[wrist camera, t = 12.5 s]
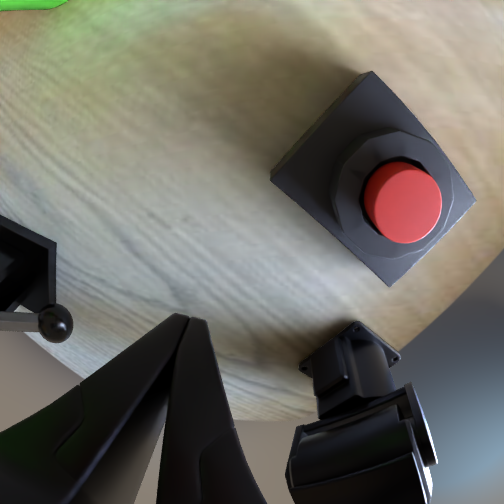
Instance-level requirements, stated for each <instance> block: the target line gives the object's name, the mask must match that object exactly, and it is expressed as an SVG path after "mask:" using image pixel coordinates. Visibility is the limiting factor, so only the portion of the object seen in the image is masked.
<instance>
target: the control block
mask: <svg viewBox="0 0 504 504" xmlns="http://www.w3.org/2000/svg"><path fill="white" fill-rule="evenodd" d="M391 162H405V163H409V164H411V165H413V166H415V167H417V168H419V169H420V170H422V171H424V172H426V173H427V174H429V175H430V176H431V177H432V178H433V179H434V180H435V182H436V183H437V185H438V187H439V189H440V192H441V197H442V208H441V213H440V217H439V219H438V221H437V223H436V225H435V226H434V228H433V229H432V230H431V231H430V232H429V233H428V234H427V235H426V236H425V237H423V238H422V239H420V240H418V241H415V242H411V243H397V242H394V241H391V240H389V239H388V238H386V237H385V236H384V235H383V234H382V233H381V232H380V231H379V230H378V228H377V227H376V226H375V224H374V223H373V222H372V220H371V219H370V217H369V216H368V214H367V212H366V209H365V205H364V192H365V188H366V185H367V182H368V180H369V179H370V177H371V176H372V174H373V173H374V172H375V171H376V170H377V169H378V168H380V167H381V166H383V165H385V164H387V163H391ZM270 181H271V182H272V183H273V184H274V185H276V186H277V187H278V188H279V189H280V190H282V191H283V192H284V193H285V194H286V195H288V196H289V197H290V198H291V199H292V200H294V201H295V202H296V203H297V204H298V205H299V206H301V207H302V208H303V209H304V210H305V211H306V212H307V213H309V214H310V215H311V216H312V217H313V218H314V219H316V220H317V221H318V222H319V223H320V224H321V225H322V226H323V227H325V228H326V229H327V230H328V231H329V232H330V233H331V234H332V235H334V236H335V237H336V238H337V239H338V240H339V241H340V242H341V243H342V244H343V245H345V246H346V247H347V248H348V249H349V250H350V251H351V252H352V253H353V254H354V255H355V256H357V257H358V258H359V259H360V260H361V261H362V262H363V263H364V264H365V265H366V266H367V267H368V268H369V269H370V270H371V271H373V272H374V273H375V274H376V275H377V276H378V277H379V278H380V279H381V280H382V281H383V282H384V283H385V284H386V285H387V286H388V287H391V286H392V285H393V284H394V283H395V282H396V281H398V280H399V279H400V278H401V277H402V276H403V275H404V274H405V273H406V272H407V271H408V270H409V269H411V268H412V267H413V266H414V265H415V264H416V263H417V262H418V261H419V260H420V259H421V258H422V257H423V256H424V255H425V254H426V253H427V252H428V251H429V250H430V249H431V248H432V247H433V246H434V245H435V244H436V243H437V242H438V241H439V240H440V239H441V238H442V237H443V236H444V235H445V234H446V233H447V232H448V231H449V230H450V229H451V228H452V227H453V226H454V225H455V224H456V223H457V222H458V220H459V219H460V218H461V217H462V216H463V215H464V214H465V213H466V212H467V211H468V210H469V208H470V207H471V206H472V205H473V204H474V203H475V202H476V199H475V198H474V196H473V194H472V193H471V191H470V190H469V188H468V187H467V185H466V184H465V182H464V181H463V179H462V178H461V176H460V175H459V173H458V172H457V170H456V169H455V167H454V166H453V165H452V163H451V162H450V160H449V159H448V158H447V156H446V155H445V153H444V152H443V151H442V149H441V148H440V147H439V146H438V144H437V143H436V142H435V140H434V139H433V138H432V137H431V135H430V134H429V133H428V132H427V130H426V129H425V128H424V127H423V125H422V124H421V123H420V122H419V121H418V119H417V118H416V117H415V116H414V115H413V114H412V112H411V111H410V110H409V109H408V108H407V107H406V106H405V105H404V103H403V102H402V101H401V100H400V99H399V98H398V97H397V96H396V95H395V94H394V93H393V92H392V90H391V89H390V88H389V87H388V86H387V85H386V84H385V83H384V82H383V81H382V80H381V79H380V78H379V77H378V76H377V75H376V74H375V73H374V72H373V71H370V72H367V73H363V74H360V75H359V76H358V77H357V78H356V80H355V81H354V82H353V83H352V84H351V85H350V86H349V87H348V88H347V89H346V90H345V91H344V92H343V93H342V94H341V95H340V96H339V97H338V98H337V99H336V100H335V101H334V103H333V104H332V105H331V106H330V107H329V108H328V109H327V110H326V111H325V112H324V113H323V114H322V115H321V116H320V117H319V119H318V120H317V121H316V122H315V123H314V124H313V125H312V126H311V127H310V128H309V129H308V130H307V132H306V133H305V134H304V135H303V136H302V137H301V138H300V139H299V140H298V141H297V142H296V144H295V145H294V146H293V147H292V148H291V149H290V150H289V151H288V152H287V154H286V155H285V156H284V157H283V158H282V159H281V160H280V161H279V162H278V164H277V165H276V166H275V167H274V168H273V169H272V170H271V172H270Z"/></svg>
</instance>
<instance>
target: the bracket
mask: <svg viewBox="0 0 504 504" xmlns="http://www.w3.org/2000/svg"><path fill="white" fill-rule="evenodd" d="M56 247H57V243H56V242H54V241H52V240H50V239H48V238H46V237H44V236H42V235H39V234H37V233H35V232H33V231H31V230H29V229H27V228H25V227H23V226H21V225H19V224H17V223H15V222H13V221H11V220H10V219H8V218H6V217H4V216H2V215H0V311H3V312H14V311H15V310H16V309H17V308H18V306H19V305H22V306H23V307H25V308H27V309H28V310H30V311H32V312H34V313H39V312H40V310H41V309H42V308H43V307H44V306H45V305H47V304H51V303H56Z"/></svg>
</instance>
